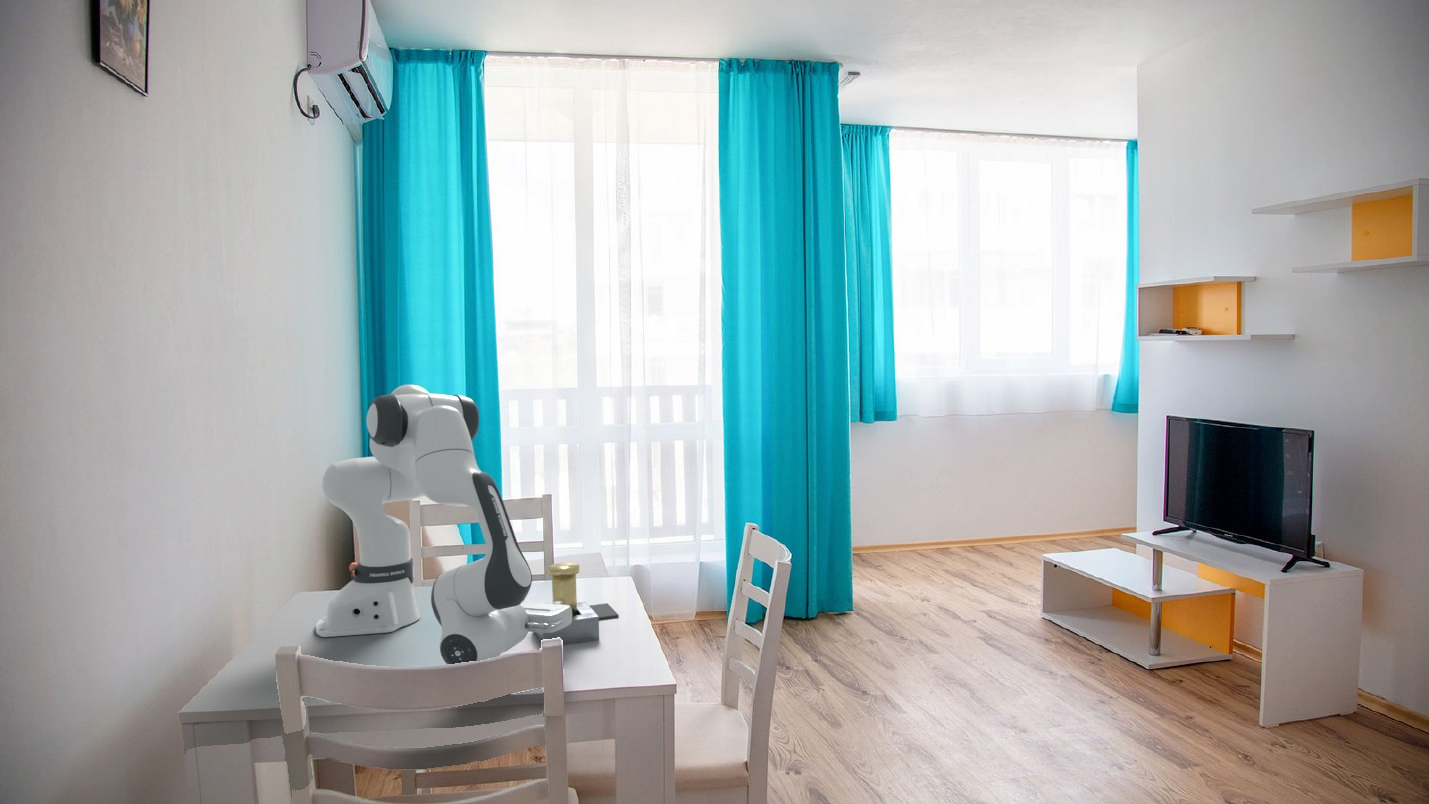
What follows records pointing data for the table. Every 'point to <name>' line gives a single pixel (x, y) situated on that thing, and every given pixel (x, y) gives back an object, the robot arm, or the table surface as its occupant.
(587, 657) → the table surface
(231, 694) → the table surface
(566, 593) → the brass flanged peg
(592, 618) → the housing
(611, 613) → the mat
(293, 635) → the table surface
